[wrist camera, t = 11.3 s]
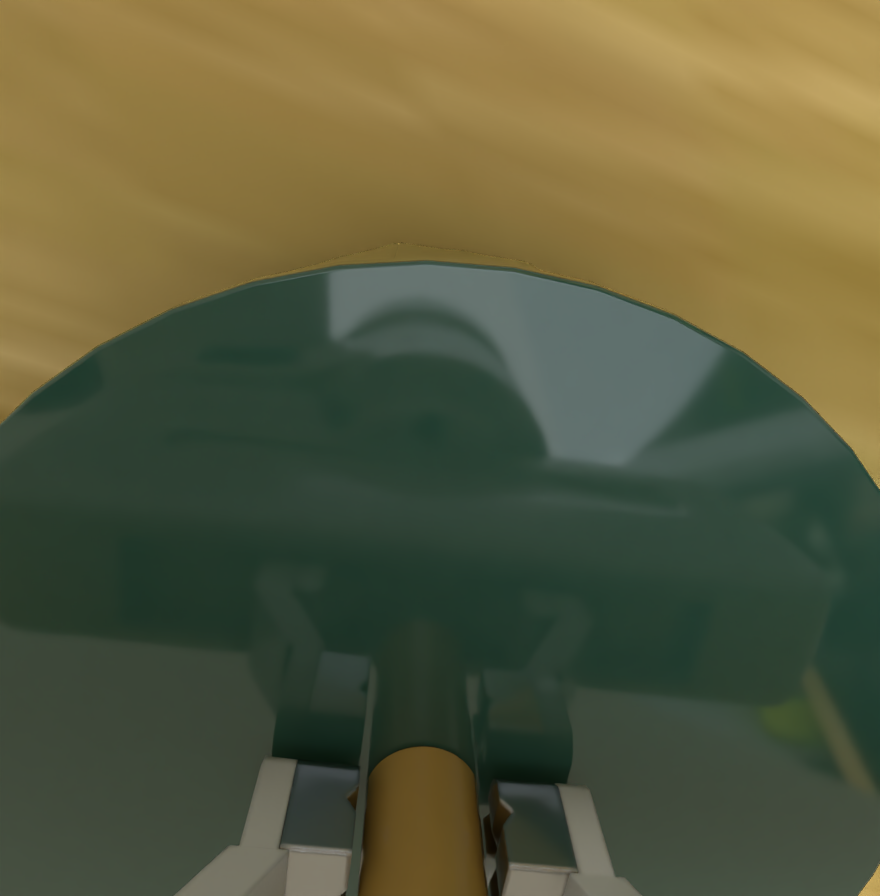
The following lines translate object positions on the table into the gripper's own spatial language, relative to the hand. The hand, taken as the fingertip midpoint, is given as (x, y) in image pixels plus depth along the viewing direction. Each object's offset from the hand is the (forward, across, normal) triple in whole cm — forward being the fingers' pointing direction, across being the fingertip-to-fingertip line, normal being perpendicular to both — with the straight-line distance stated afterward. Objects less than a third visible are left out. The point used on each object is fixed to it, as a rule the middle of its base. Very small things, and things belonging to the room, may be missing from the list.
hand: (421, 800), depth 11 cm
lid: (+1, 0, 0) cm, 1 cm away
